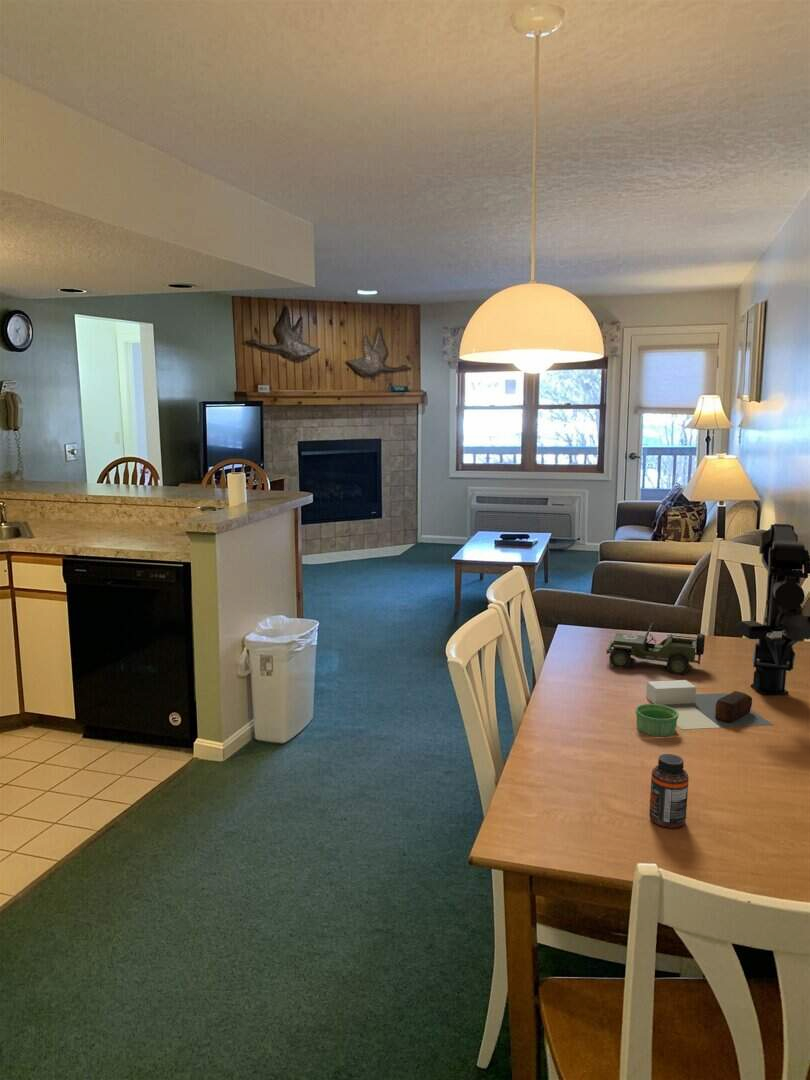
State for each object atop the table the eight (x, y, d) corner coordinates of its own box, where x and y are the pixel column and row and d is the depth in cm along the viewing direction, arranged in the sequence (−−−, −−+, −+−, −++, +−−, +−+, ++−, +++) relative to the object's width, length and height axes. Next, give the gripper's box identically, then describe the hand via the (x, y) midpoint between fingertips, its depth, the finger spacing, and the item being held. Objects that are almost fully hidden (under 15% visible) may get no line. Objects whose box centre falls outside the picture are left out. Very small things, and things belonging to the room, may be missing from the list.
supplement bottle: (643, 812, 136) (646, 751, 134) (676, 811, 136) (680, 750, 135) (657, 830, 130) (661, 766, 128) (691, 829, 130) (696, 765, 129)
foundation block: (685, 695, 191) (686, 680, 191) (695, 703, 186) (696, 687, 186) (646, 697, 190) (647, 681, 189) (655, 704, 185) (656, 688, 185)
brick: (731, 724, 174) (733, 704, 173) (714, 719, 176) (715, 699, 176) (751, 712, 181) (753, 693, 180) (734, 707, 184) (736, 688, 183)
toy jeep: (610, 654, 225) (611, 617, 223) (702, 665, 216) (705, 626, 214) (604, 667, 214) (606, 628, 212) (702, 679, 204) (704, 638, 203)
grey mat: (726, 693, 193) (726, 692, 193) (773, 725, 174) (773, 724, 174) (643, 697, 191) (643, 696, 190) (681, 730, 171) (681, 729, 171)
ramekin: (680, 726, 173) (681, 708, 172) (673, 741, 165) (674, 722, 165) (639, 719, 177) (640, 700, 177) (630, 733, 169) (631, 714, 169)
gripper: (766, 608, 166) (760, 678, 169) (846, 606, 169) (840, 675, 171) (737, 596, 177) (732, 662, 180) (814, 594, 180) (808, 659, 182)
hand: (778, 665), depth 178 cm, fingers closed
